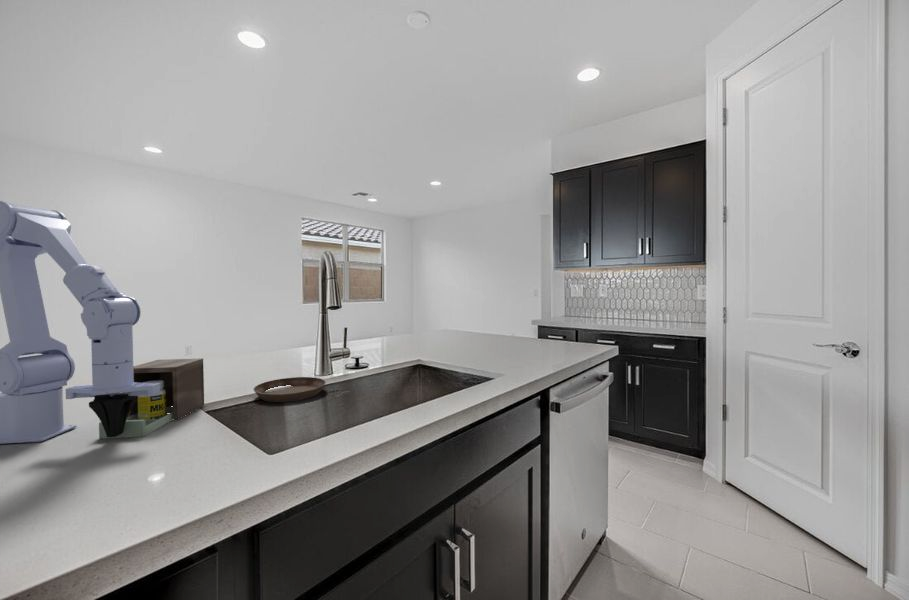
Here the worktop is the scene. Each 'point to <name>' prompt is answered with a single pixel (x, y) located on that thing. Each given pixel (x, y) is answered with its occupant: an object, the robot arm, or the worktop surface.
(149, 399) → the supplement bottle
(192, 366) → the wooden open box
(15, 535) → the worktop surface
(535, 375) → the worktop surface
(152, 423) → the tray
